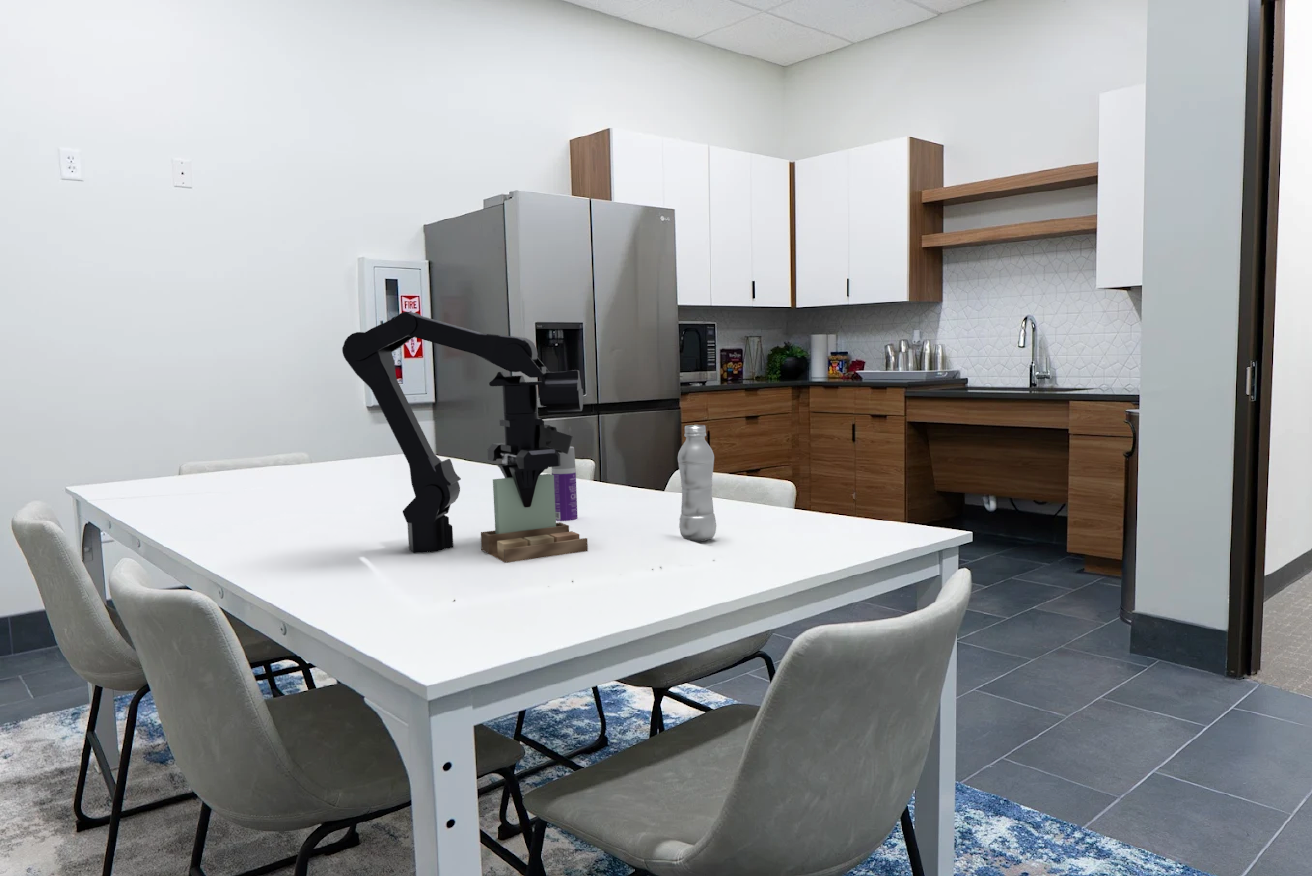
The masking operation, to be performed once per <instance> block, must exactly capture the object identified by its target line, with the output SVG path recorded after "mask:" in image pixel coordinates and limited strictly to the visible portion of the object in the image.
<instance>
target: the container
mask: <svg viewBox="0 0 1312 876" xmlns="http://www.w3.org/2000/svg"><path fill="white" fill-rule="evenodd" d="M558 453H559V452H558ZM559 454H560V463H561V466H556V467H551V474H552V475H554V493H555V516H556V522H564V521H565V522H567V521H568V522H570V521H571V522H572V521H575V520H578V518H579V517H578V495H577V473H576V455H575V447H574V446H572V445H570V448H569V452H568V454H565V453H559Z"/></svg>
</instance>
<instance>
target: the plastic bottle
mask: <svg viewBox="0 0 1312 876" xmlns="http://www.w3.org/2000/svg"><path fill="white" fill-rule="evenodd" d="M706 432H707V430H706V425H705V424H694V425H693V424H690V425H685V426H684V434H683V435H684V437H685V440H684V442H683V444H682V445H681V447H680V449H679V451H678V454H677V463H678V469H679V470H678V471H679V474H680V475H679V476H680V484H681V486H680V487H681V508H680V509H681V511H680V517H679V526H678V529H679V532H680V535H681V537H682V538H683V539H684V540H686V541H692V542H697V543H698V542H703V541H708V540H711V539H713V538H714V537H715V535H716V532H717V520H716V516H715V513H714V512H715V511H714V503H713V502H714V501H713V475H714V474H713V473H714V465H715V454H714V452H713V451H714V450H713V449H712V447H711V446H710V445H709V443H708V441H707V440H706V438H705V437H707V433H706Z"/></svg>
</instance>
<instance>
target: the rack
mask: <svg viewBox="0 0 1312 876" xmlns="http://www.w3.org/2000/svg"><path fill="white" fill-rule="evenodd" d="M563 532H570V525H568V524H566V523H563V522H561V521H558V522H556V527H548V528H540V529H532V530H525V531H517V532H509V533H501V534H496V533H495V530H488V531H481V532H480V542H481V543H480V544H481V546H480V547H481V551H483V552H485V553H486V554H488V555H490V556H492V557H494V558H496V559H497V560H499V561H502V562H504V563H505V564H507V563H514V562H522V561H528V560H535V559H543V558H548V557H556V556H564V555H569V554H578V553H583V552H584V553H585V552H589V550H588V549H589V548H588V547H589V546H588V538H586V537H585V538H579V539H575V540H568V541H560V542H553V543H546V544H538V545H531V546H523V547H516V548H509V549H504V559H502V558H500V557H498V548H497V541H501V540H509V539H516V538H522V539H524V537H532V536H539V535H549V536H550V534H555V533H563Z"/></svg>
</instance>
